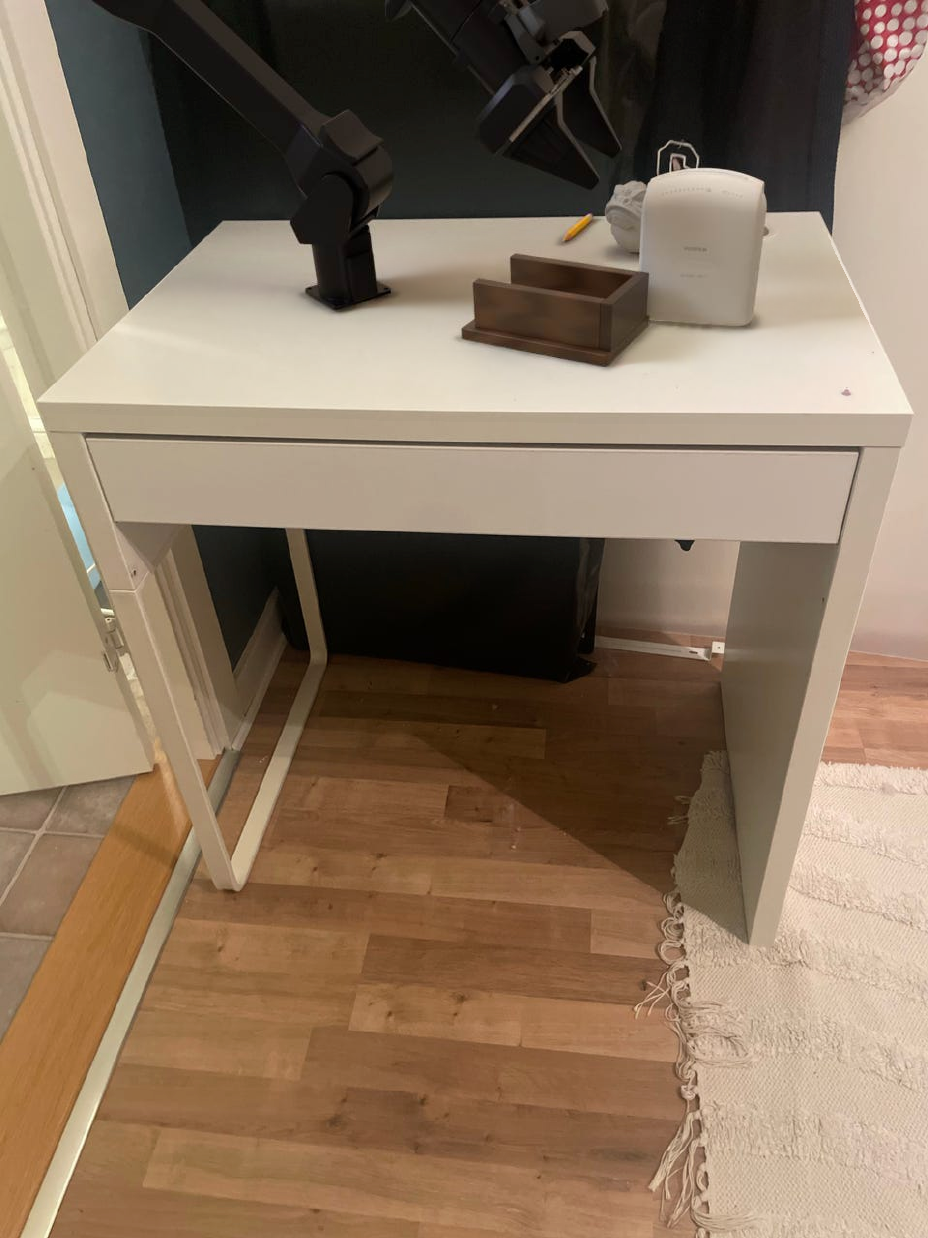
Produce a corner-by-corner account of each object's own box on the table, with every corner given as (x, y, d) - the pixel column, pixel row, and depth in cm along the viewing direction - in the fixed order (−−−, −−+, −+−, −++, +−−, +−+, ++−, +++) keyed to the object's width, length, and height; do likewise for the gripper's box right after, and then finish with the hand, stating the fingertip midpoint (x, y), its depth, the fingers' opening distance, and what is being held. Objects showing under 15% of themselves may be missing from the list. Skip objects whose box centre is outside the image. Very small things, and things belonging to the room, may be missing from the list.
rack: (461, 338, 84) (458, 282, 81) (510, 302, 90) (509, 248, 87) (606, 366, 78) (608, 307, 75) (648, 326, 84) (652, 269, 81)
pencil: (593, 220, 107) (593, 213, 107) (565, 245, 101) (565, 238, 101) (586, 219, 107) (587, 212, 107) (558, 244, 102) (558, 237, 101)
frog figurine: (590, 256, 98) (591, 184, 94) (629, 236, 102) (632, 167, 98) (639, 267, 95) (643, 194, 91) (677, 247, 99) (683, 175, 94)
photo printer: (630, 322, 85) (639, 175, 77) (641, 303, 88) (649, 160, 80) (748, 332, 82) (770, 180, 74) (755, 312, 85) (776, 164, 77)
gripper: (509, -61, 63) (664, 122, 67) (571, -86, 77) (697, 68, 81) (410, 73, 71) (556, 231, 75) (483, 29, 84) (603, 165, 88)
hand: (607, 169), depth 79 cm, fingers open, 9 cm apart
